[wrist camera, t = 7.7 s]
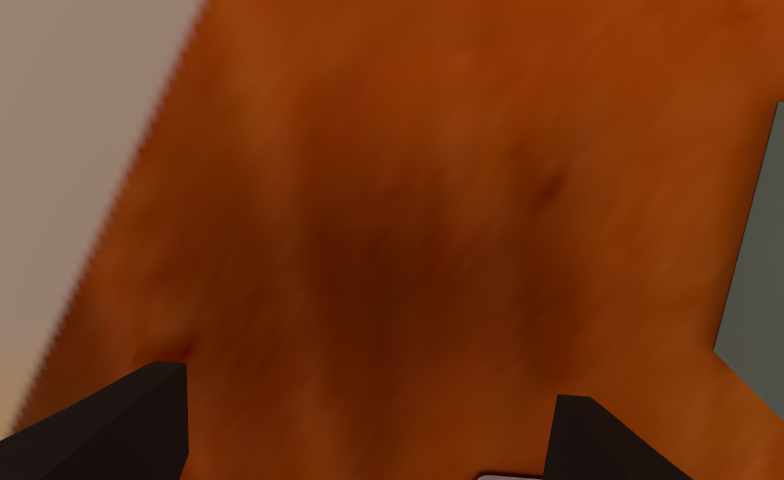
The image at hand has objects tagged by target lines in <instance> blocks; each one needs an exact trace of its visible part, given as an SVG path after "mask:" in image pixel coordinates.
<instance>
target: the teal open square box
mask: <svg viewBox="0 0 784 480" xmlns="http://www.w3.org/2000/svg"><path fill="white" fill-rule="evenodd" d="M714 352H715V353H716V354H717V355H718V356H719V357H720V358H721V359H722V360H723V361H724V362H725V363H726V364H727V365H728V366H729V367H730V368H731V369H732V370H733V371H734V372H735V373H736V374H737V375H738V376H739V377H740V378H741V379H742V380H743V381H744V382H745V383H746V384H747V385H748V386H749V387H750V388H751V389H752V390H753V391H754V392H755V393H756V394H757V395H758V396H759V397H760V398H761V399H762V400H763V401H764V402H765V403H766V404H767V405H768V406H769V407H770V408H771V409H772V410H773V411H774V412H775V413H776V414H777V415H778V416H779V417H780V418H781V419H782V420H783V421H784V102H781V101H779V102H778V106H777V110H776V114H775V118H774V122H773V125H772V129H771V133H770V137H769V141H768V145H767V148H766V152H765V156H764V160H763V164H762V167H761V171H760V175H759V179H758V183H757V187H756V190H755V194H754V198H753V202H752V206H751V209H750V213H749V217H748V221H747V225H746V229H745V232H744V236H743V240H742V244H741V248H740V252H739V255H738V259H737V263H736V267H735V271H734V274H733V278H732V282H731V286H730V290H729V294H728V297H727V301H726V305H725V309H724V313H723V317H722V320H721V324H720V328H719V332H718V336H717V339H716V343H715V347H714Z"/></svg>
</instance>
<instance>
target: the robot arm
mask: <svg viewBox="0 0 784 480" xmlns="http://www.w3.org/2000/svg"><path fill="white" fill-rule="evenodd" d="M188 454H189V444H188V404H187V365H186V364H185V363H173V362H160V361H154V362H152V363H150V364H148V365H145V366H143V367H141V368H140V369H138V370H136V371H134V372H132V373H130V374H128V375H126V376H125V377H123V378H121V379H119V380H117V381H116V382H114V383H112V384H110V385H108V386H107V387H105V388H103V389H101V390H99V391H98V392H96V393H94V394H92V395H90V396H88V397H87V398H85V399H83V400H81V401H79V402H77V403H76V404H74V405H72V406H70V407H68V408H66V409H64V410H62V411H60V412H58V413H56V414H54V415H52V416H50V417H48V418H46V419H44V420H42V421H40V422H38V423H36V424H34V425H32V426H30V427H28V428H26V429H24V430H22V431H20V432H18V433H16V434H14V435H12V436H9V437H7V438H5V439H3V440H1V441H0V480H179V478H180V476H181V473H182V470H183V468H184V465H185V462H186V460H187V457H188ZM477 480H541V479H529V478H517V477H505V476H493V475H485V476H482V477H480V478H478V479H477ZM542 480H693V479H692V478H690V477H689V476H688V475H686V474H685V473H684V472H682V471H681V470H680V469H678V468H677V467H676V466H675V465H673V464H672V463H671V462H669V461H668V460H667V459H666V458H664V457H663V456H662V455H661V454H659V453H658V452H657V451H656V450H654V449H653V448H652V447H651V446H649V445H648V444H647V443H646V442H645V441H643V440H642V439H641V438H640V437H639V436H637V435H636V434H635V433H634V432H633V431H631V430H630V429H629V428H628V427H627V426H625V425H624V424H623V423H622V422H621V421H619V420H618V419H617V418H616V417H615V416H613V415H612V414H611V413H610V412H609V411H607V410H606V409H605V408H604V407H602V406H601V405H600V404H599V403H597V402H596V401H595V400H593V399H592V398H590V397H586V396H573V395H561V394H558V395H557V401H556V406H555V412H554V417H553V423H552V428H551V434H550V439H549V445H548V451H547V456H546V462H545V467H544V473H543V478H542Z"/></svg>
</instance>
